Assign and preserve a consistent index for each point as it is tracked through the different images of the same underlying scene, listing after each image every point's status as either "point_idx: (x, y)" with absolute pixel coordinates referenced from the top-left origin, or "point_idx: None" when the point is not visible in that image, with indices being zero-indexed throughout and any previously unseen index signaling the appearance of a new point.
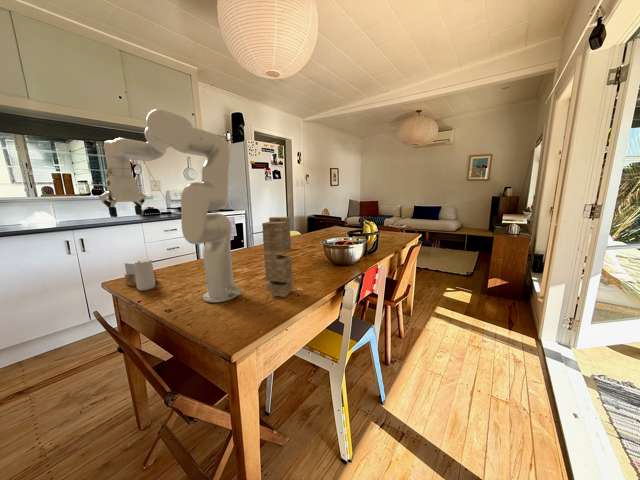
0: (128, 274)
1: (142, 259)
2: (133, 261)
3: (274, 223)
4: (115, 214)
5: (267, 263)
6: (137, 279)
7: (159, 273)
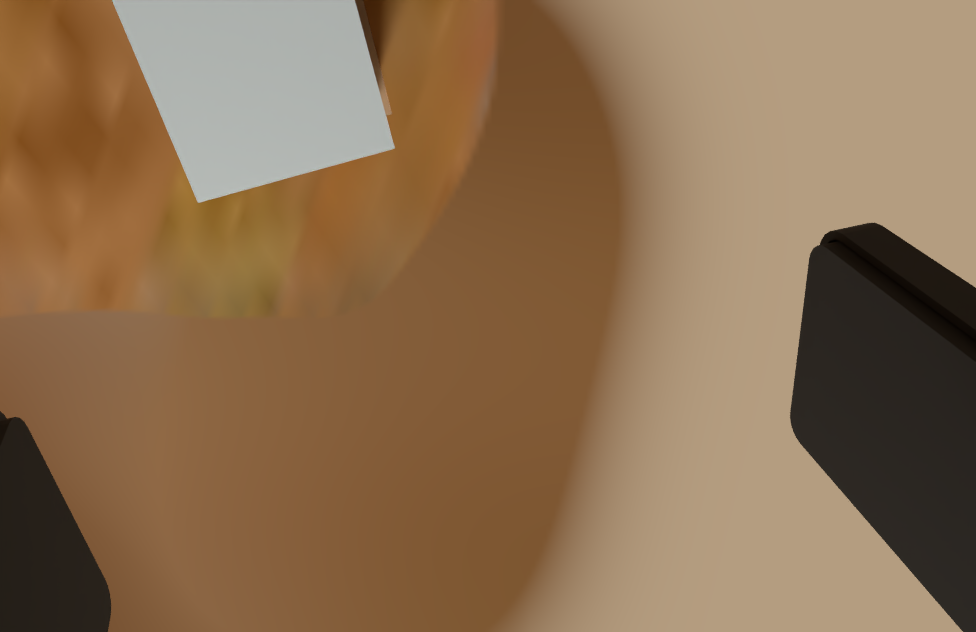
0: None
1: (187, 148)
2: (300, 139)
3: None
4: (913, 256)
5: None
6: None
7: (9, 179)
